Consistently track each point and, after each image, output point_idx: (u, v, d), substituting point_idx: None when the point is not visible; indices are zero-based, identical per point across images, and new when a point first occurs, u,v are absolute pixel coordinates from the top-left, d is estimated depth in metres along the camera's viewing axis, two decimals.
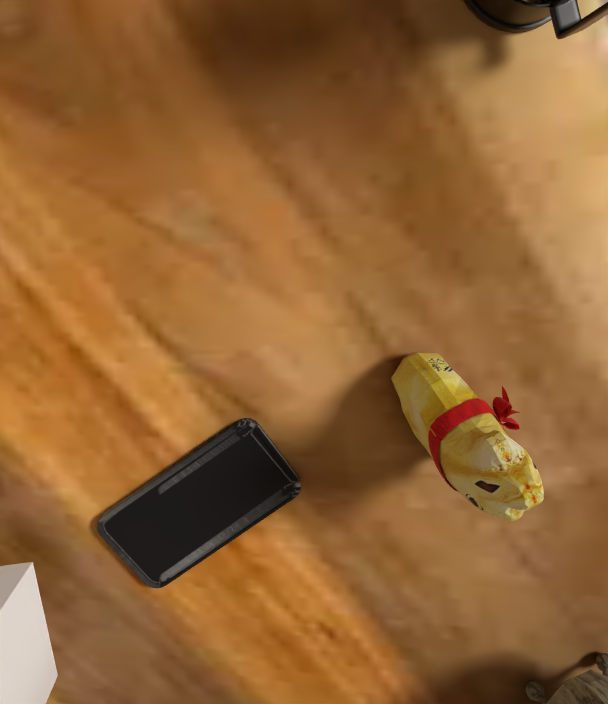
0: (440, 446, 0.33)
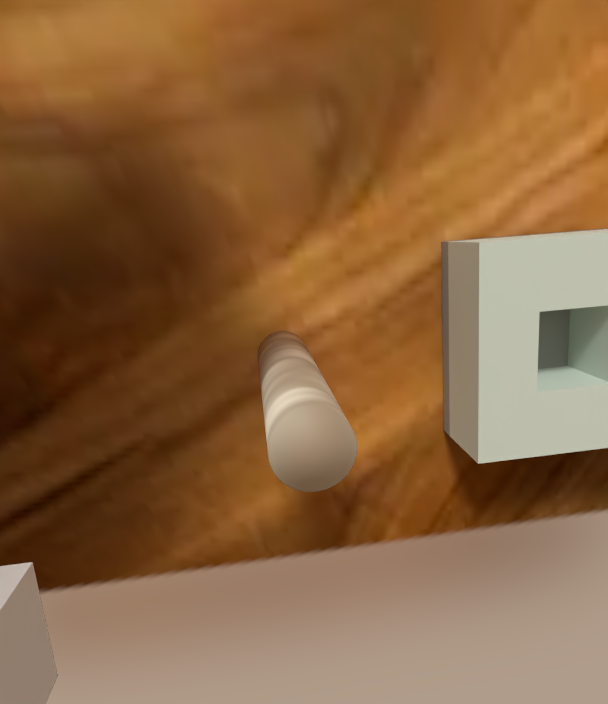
0: None
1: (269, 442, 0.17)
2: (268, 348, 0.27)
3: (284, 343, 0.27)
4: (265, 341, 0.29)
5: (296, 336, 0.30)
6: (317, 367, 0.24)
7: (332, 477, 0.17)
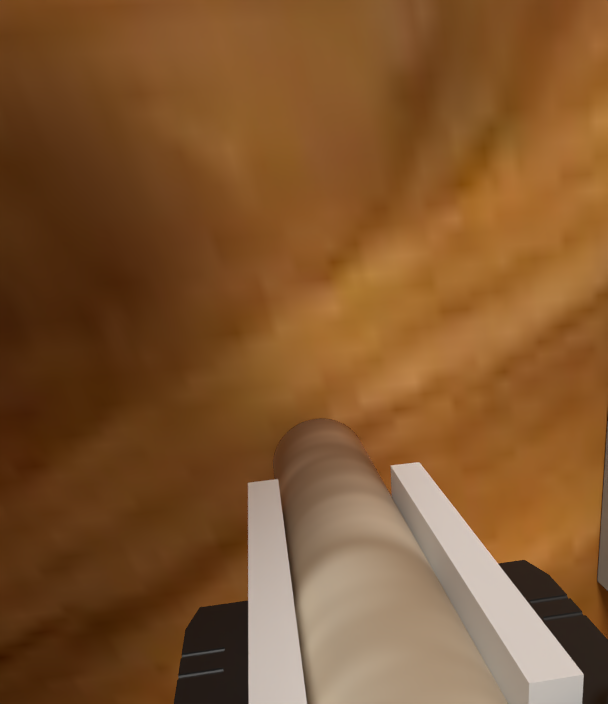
0: None
1: None
2: (298, 473, 0.13)
3: (333, 467, 0.13)
4: (288, 442, 0.15)
5: (347, 430, 0.16)
6: (422, 552, 0.10)
7: None
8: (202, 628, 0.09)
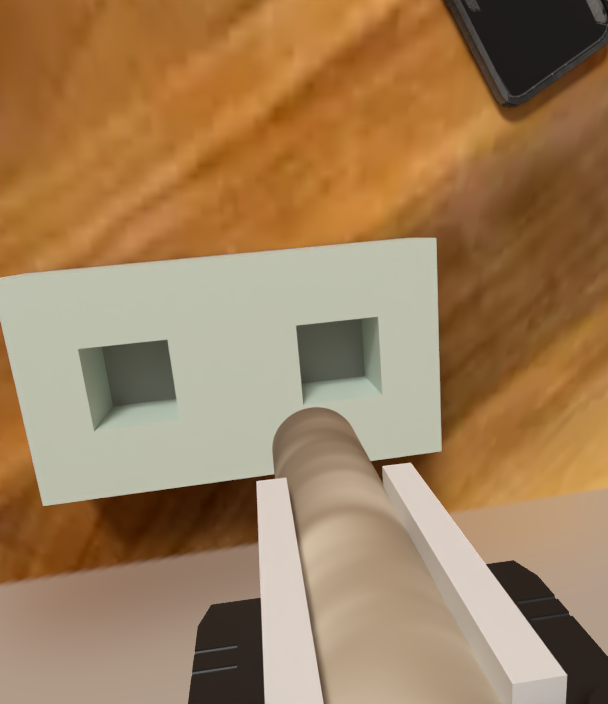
0: None
1: None
2: (294, 454, 0.14)
3: (325, 448, 0.14)
4: (286, 428, 0.17)
5: (340, 418, 0.17)
6: None
7: None
8: (215, 625, 0.09)
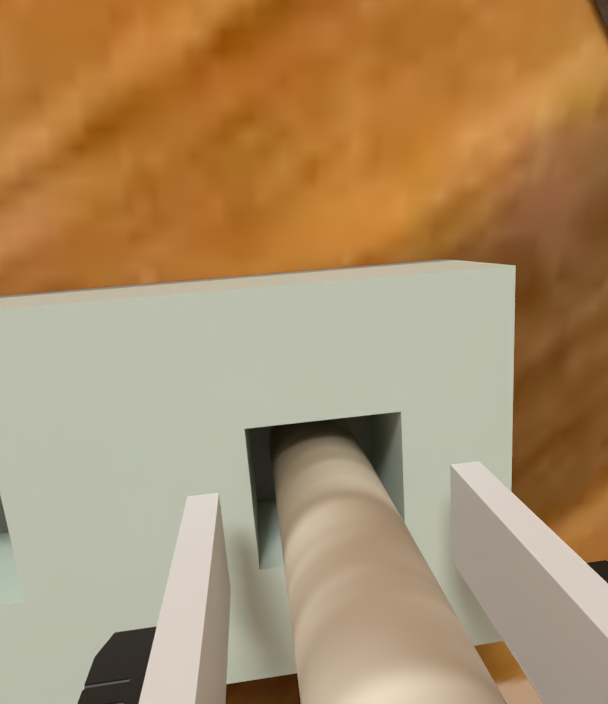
0: None
1: None
2: (290, 445, 0.15)
3: (320, 439, 0.15)
4: None
5: None
6: (393, 505, 0.12)
7: None
8: (113, 656, 0.08)
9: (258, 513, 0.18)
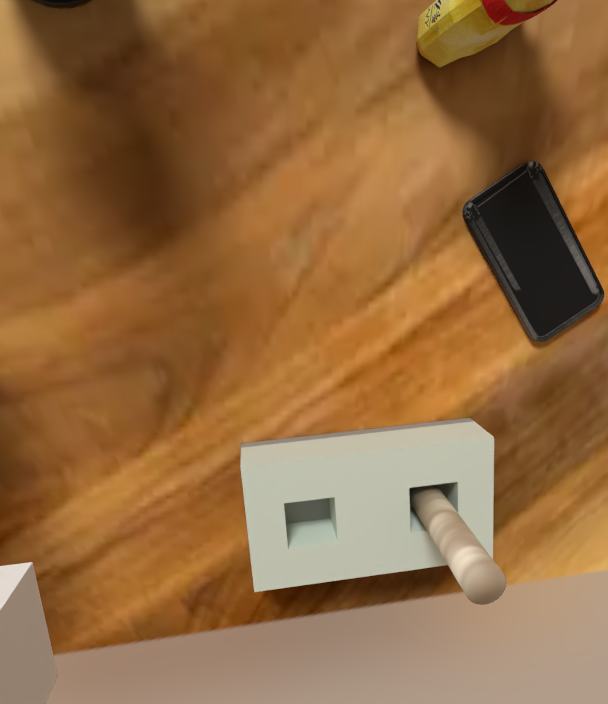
0: (517, 11, 0.34)
1: (465, 582, 0.35)
2: (419, 492, 0.45)
3: (430, 491, 0.45)
4: None
5: None
6: None
7: (493, 597, 0.35)
8: None
9: None
